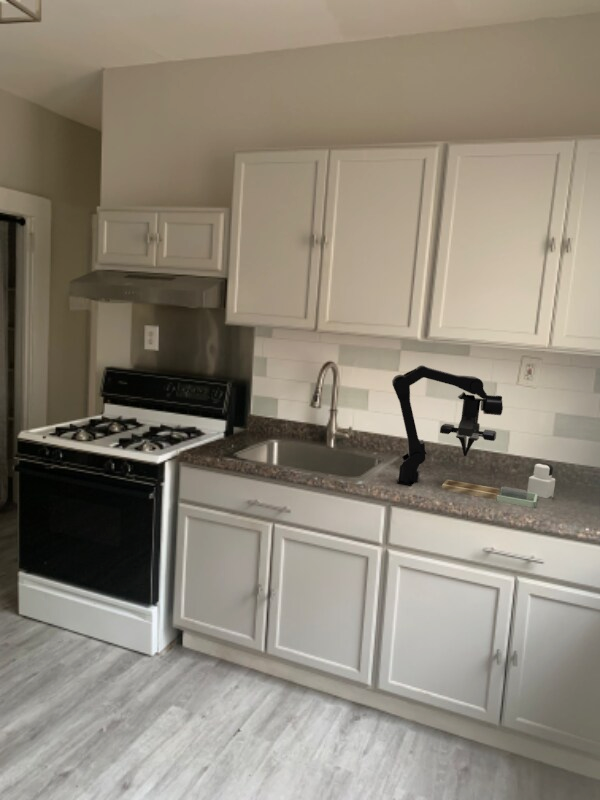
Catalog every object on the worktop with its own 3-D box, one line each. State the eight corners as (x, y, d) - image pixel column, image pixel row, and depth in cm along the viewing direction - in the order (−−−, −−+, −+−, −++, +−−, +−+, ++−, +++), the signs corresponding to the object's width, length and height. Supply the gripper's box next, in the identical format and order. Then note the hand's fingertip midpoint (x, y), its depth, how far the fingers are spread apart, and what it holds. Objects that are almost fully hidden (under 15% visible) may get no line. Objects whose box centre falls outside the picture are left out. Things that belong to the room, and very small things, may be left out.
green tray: (496, 504, 209) (497, 495, 208) (500, 495, 220) (501, 487, 219) (534, 511, 204) (535, 502, 204) (536, 502, 215) (537, 493, 215)
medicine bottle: (532, 493, 227) (537, 460, 225) (553, 498, 223) (557, 465, 221) (525, 496, 222) (530, 463, 220) (546, 501, 217) (551, 467, 215)
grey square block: (512, 502, 211) (514, 491, 210) (513, 499, 214) (515, 488, 214) (525, 504, 209) (526, 493, 208) (526, 502, 213) (527, 490, 212)
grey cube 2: (500, 500, 212) (501, 488, 211) (501, 497, 216) (503, 486, 215) (512, 502, 210) (514, 491, 210) (513, 499, 214) (515, 488, 213)
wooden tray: (441, 492, 217) (442, 484, 217) (446, 487, 225) (447, 479, 225) (495, 502, 210) (496, 494, 210) (498, 496, 218) (499, 488, 218)
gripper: (439, 411, 217) (434, 455, 219) (495, 419, 210) (489, 464, 212) (445, 408, 227) (440, 450, 230) (498, 415, 220) (493, 458, 222)
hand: (465, 455), depth 223 cm, fingers closed
